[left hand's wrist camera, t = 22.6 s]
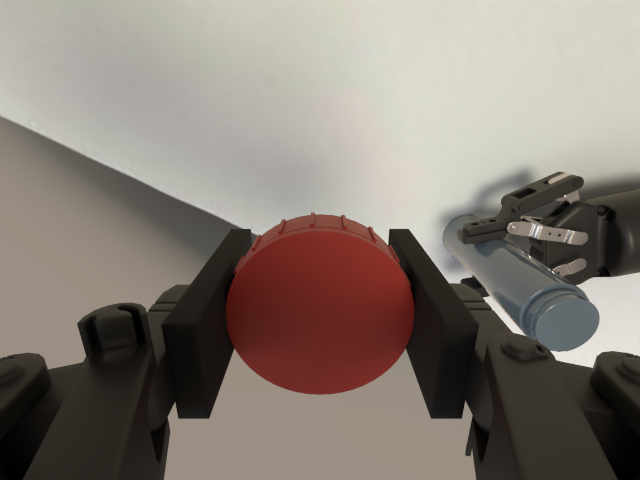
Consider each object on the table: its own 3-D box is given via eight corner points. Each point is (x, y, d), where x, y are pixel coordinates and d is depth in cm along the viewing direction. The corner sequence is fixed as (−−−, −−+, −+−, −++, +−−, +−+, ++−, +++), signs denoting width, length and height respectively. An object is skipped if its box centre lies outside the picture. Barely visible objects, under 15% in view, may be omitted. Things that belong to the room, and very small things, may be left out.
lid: (440, 280, 12) (459, 306, 10) (333, 387, 13) (334, 423, 12) (304, 174, 10) (301, 185, 9) (203, 306, 12) (186, 335, 10)
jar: (438, 223, 39) (525, 308, 23) (480, 208, 38) (601, 284, 22) (448, 260, 41) (537, 364, 24) (489, 246, 40) (608, 343, 23)
